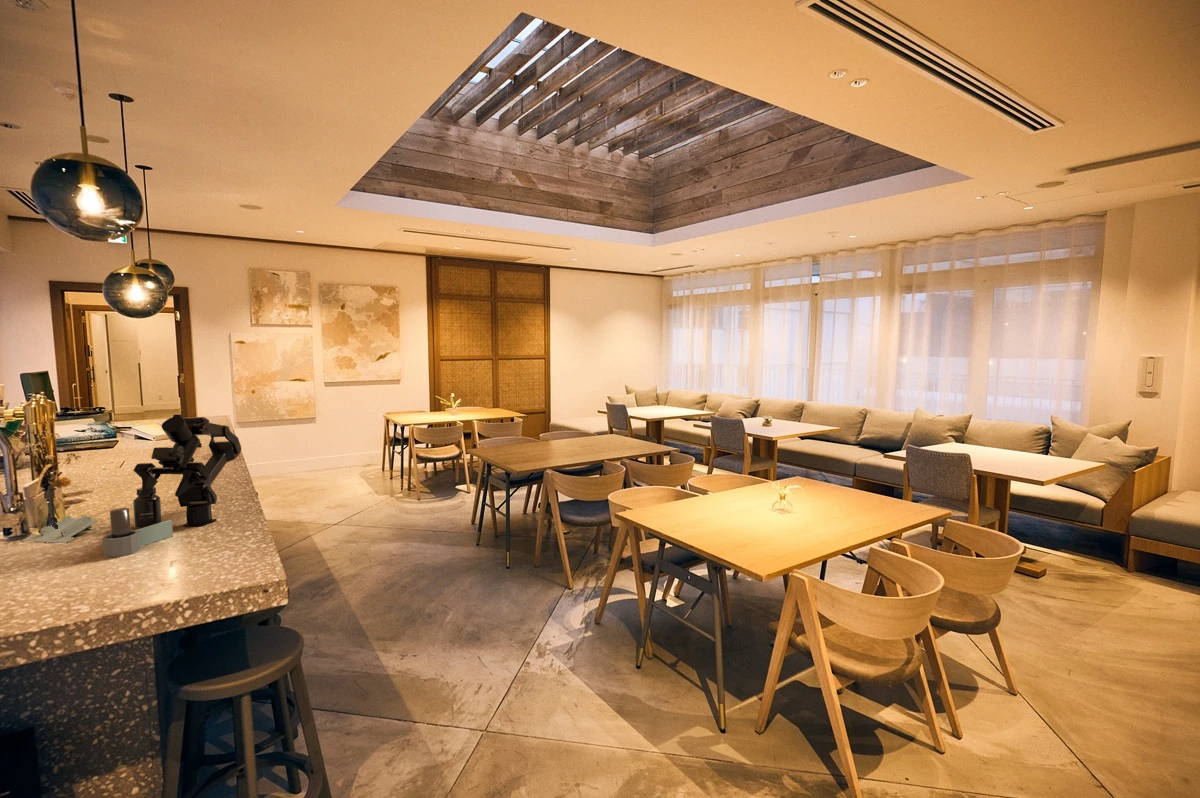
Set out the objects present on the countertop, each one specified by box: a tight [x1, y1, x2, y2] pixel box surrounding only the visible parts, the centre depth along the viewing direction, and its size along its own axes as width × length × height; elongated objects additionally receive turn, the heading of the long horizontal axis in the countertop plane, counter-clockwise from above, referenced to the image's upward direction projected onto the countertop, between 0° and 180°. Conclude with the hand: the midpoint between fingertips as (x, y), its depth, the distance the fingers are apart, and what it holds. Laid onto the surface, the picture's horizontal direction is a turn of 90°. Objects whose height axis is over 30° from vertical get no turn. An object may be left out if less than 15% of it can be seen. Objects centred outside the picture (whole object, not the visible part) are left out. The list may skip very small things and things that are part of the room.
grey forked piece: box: [101, 519, 174, 558], centre depth 161 cm, size 18×13×5 cm
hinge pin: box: [109, 507, 131, 539], centre depth 156 cm, size 4×4×12 cm
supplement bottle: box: [132, 486, 163, 529], centre depth 180 cm, size 7×7×12 cm
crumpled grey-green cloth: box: [21, 514, 100, 544], centre depth 170 cm, size 14×6×15 cm
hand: (159, 496), depth 163 cm, fingers open, 9 cm apart
